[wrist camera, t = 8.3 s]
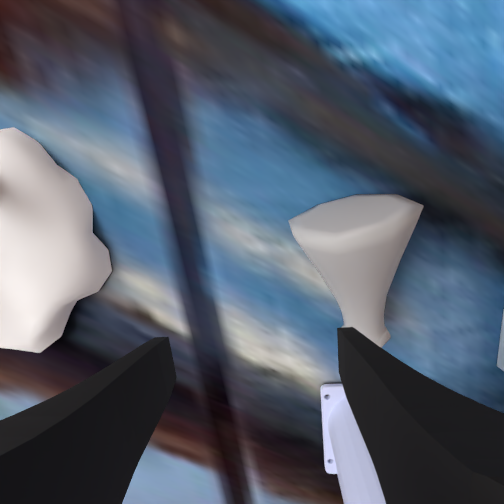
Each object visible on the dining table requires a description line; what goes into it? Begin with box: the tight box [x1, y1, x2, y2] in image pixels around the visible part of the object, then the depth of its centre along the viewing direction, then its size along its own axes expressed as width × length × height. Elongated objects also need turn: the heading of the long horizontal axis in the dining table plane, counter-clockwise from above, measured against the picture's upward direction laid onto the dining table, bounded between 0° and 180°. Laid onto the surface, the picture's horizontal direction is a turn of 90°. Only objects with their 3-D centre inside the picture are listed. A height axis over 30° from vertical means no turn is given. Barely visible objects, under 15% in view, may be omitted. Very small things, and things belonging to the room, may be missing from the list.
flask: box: [289, 194, 423, 348], centre depth 17 cm, size 7×7×10 cm
